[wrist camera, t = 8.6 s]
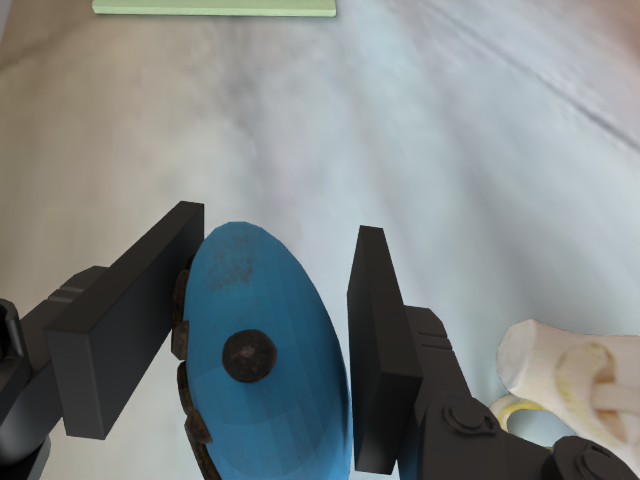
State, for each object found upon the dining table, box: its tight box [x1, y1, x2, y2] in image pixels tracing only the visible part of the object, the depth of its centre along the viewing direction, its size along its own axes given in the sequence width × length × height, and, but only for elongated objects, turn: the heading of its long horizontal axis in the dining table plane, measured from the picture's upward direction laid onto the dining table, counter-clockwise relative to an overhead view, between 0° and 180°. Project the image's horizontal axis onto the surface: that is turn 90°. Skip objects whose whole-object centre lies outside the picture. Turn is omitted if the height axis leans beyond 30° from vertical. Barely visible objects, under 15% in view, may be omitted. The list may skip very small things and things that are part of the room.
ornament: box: [171, 222, 353, 480], centre depth 10 cm, size 8×5×10 cm, turn 17°
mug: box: [490, 319, 640, 479], centre depth 19 cm, size 8×10×10 cm
